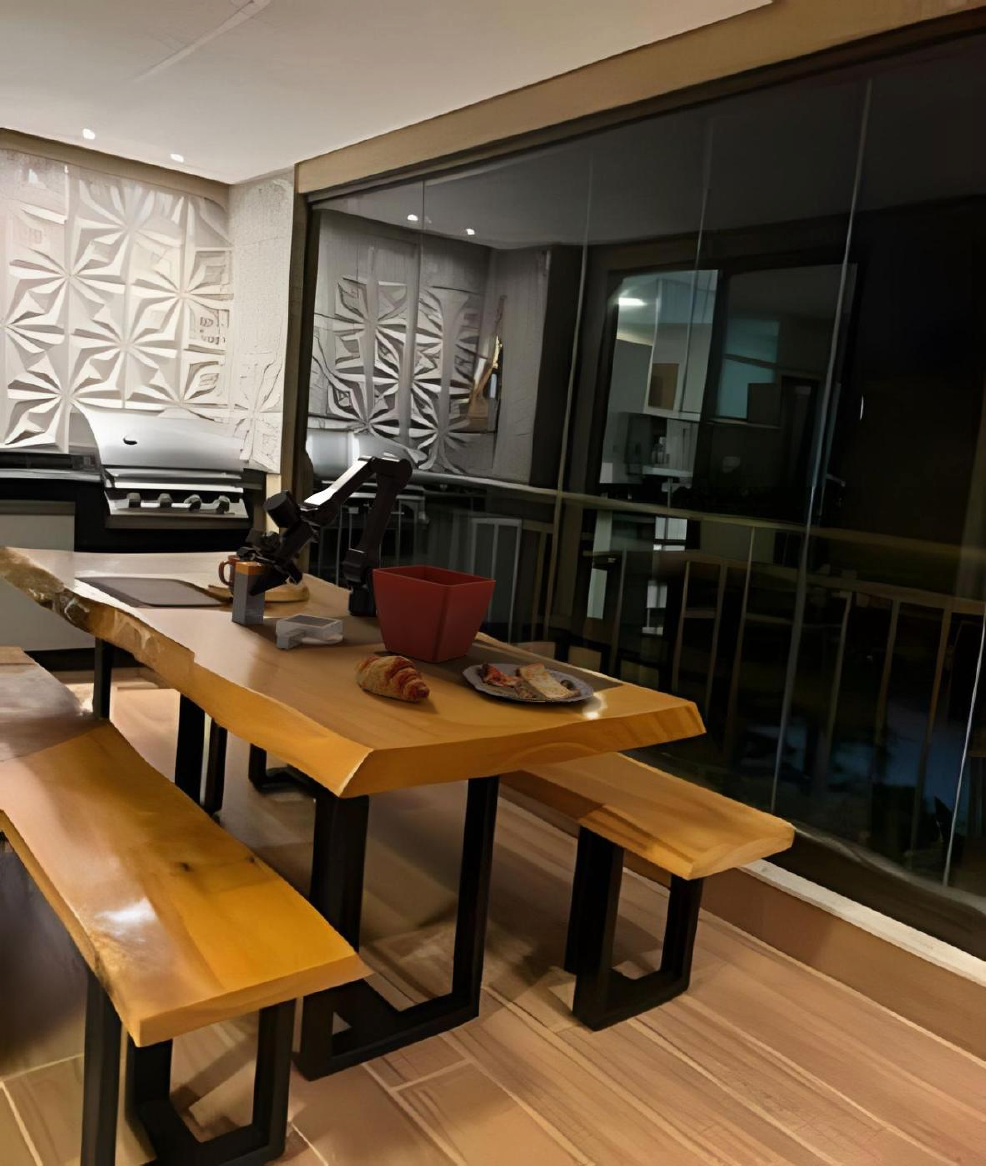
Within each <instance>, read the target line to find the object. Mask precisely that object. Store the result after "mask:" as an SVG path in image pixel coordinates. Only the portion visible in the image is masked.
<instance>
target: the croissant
mask: <svg viewBox="0 0 986 1166" xmlns="http://www.w3.org/2000/svg"><path fill="white" fill-rule="evenodd" d="M354 672H355V673H354V675H355V679H356V680H357V683H358V684H359V685H360V687H361V689H362V690H366V691H368V690H370V691H369V692H371V691H372V692H373V693H372V692H371V693H372V694H374V693H376V694H375V695H377V694H379V695H378V696H381V695H383V696H384V697H389V698H391V697H392V698H394V699H396V698H397V699H396V700H399V701H405V702H412V703H413V702H415V703H416V702H420V701H422V700H425V699H427V698H428V697H429V695H430V691H431V690H430V688H429V687H427V683H425V682H424V681H423V680H422V679H423V678H422V674H421V672H420V671H419V670H417V667H416V665H415V663H414V662H412V660H410V659H408V658H406V657H403V655H398V656H397V655H392V656H391V655H390V656H389V655H388V656H383V657H380V656H371V657H367V658H365V659H362V660H360V661H358V662H357V663H356V664H355V666H354Z"/></svg>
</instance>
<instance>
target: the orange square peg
mask: <svg viewBox="0 0 986 1166" xmlns="http://www.w3.org/2000/svg"><path fill="white" fill-rule="evenodd" d="M264 571H265V565H264V564H261V563H258V562H236V570H235V583H234V596H233V599H232V609H231V610H232V611H231V621H232V622H235V623H237V624H240V625H243V626H249V625H262V624H264V615H265V601H266V591H265V592H263V593H260V594H258V595H256V596H253V597H252V596H251V595H250V594H249V593H250V591H251V590H252V588H253V587H254V586H255V584H256V583H257V582H258V580H259V579H260V578H261V576H262V575H263V574H264Z"/></svg>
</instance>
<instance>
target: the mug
mask: <svg viewBox="0 0 986 1166" xmlns="http://www.w3.org/2000/svg"><path fill="white" fill-rule="evenodd" d="M236 562H242V561H241V560H240V558H239V557H238V556H237V555H236V554H230V555H227V560H222V561H221V562H220V563H219V565H218V570H217V571H218V578H219V580H220V582H221V583H222V584H223V585H225V586H227V589H229V590H230V592H231V594H232V595H233V596H234V583H235V570H236ZM227 565H229V575H228V581H227V580H226V577H225V567H226V566H227Z"/></svg>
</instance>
